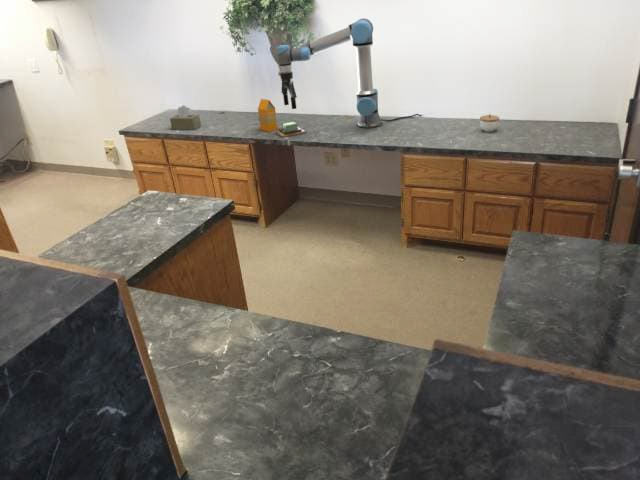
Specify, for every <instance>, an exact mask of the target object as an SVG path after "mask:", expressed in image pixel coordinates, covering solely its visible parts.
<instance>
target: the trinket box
mask: <svg viewBox="0 0 640 480" xmlns="http://www.w3.org/2000/svg"><path fill="white" fill-rule="evenodd" d="M499 122H500V117H499V115H493V114H486V115H481V116H480V117H479V125H480V128H481V130H482V131H483V132H485V133H491V132H494V131H495V130H496V129H497V128H498V126H499Z"/></svg>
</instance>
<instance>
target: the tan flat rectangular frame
mask: <svg viewBox="0 0 640 480" xmlns="http://www.w3.org/2000/svg"><path fill="white" fill-rule="evenodd" d="M297 129H298V130H293V131H288V132H285V131H284V130H283V127H282V128H281V127H280V128H278V130H275V134H277V135H278V136H280V137H281V138H286V137H291V136H295V135H300V134H305V133H306V130H304V129H302V128H300V127H299V126H297Z"/></svg>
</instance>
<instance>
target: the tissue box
mask: <svg viewBox="0 0 640 480" xmlns="http://www.w3.org/2000/svg"><path fill="white" fill-rule="evenodd" d="M192 111H193V110H192V108H190V107H187V106H186V105H184V104H182V105H181V106H179V107H178V108H177V114H176V115H174V116H171V117H170V118H169V121H170V127H171V130H181V131H182V130H183V131H184V130H186V131H188V130H189V131H190V130H193V131H194V130H197V129H198V128H200V127H202V124H201V118H200V114H191V113H192Z"/></svg>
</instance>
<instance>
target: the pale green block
mask: <svg viewBox="0 0 640 480" xmlns="http://www.w3.org/2000/svg"><path fill="white" fill-rule="evenodd" d="M281 125H282V128H283V130H284V131H285V132H288V131H293V130H298V129H297V127H298V123H297V122H295V121H290V122H284V123H281Z"/></svg>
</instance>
